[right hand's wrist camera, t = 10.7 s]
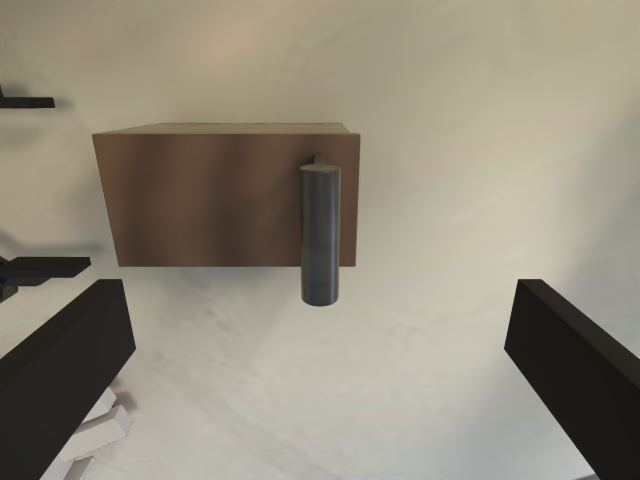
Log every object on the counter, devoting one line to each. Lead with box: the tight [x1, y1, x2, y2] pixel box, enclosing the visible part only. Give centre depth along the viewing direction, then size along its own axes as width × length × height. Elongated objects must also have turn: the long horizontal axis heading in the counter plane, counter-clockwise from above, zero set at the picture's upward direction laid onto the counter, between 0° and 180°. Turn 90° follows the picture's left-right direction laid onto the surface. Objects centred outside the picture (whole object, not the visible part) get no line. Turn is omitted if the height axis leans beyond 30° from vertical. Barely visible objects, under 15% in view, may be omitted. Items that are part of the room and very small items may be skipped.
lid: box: [92, 133, 360, 306], centre depth 23 cm, size 17×9×8 cm, turn 90°
